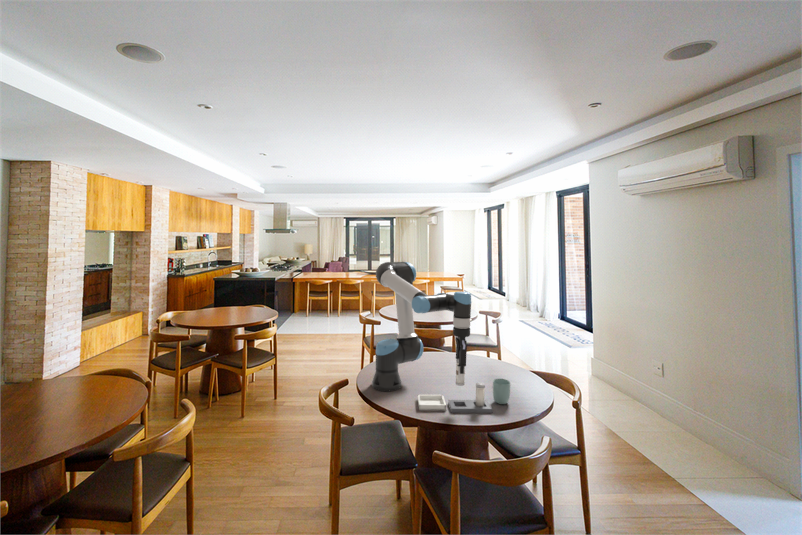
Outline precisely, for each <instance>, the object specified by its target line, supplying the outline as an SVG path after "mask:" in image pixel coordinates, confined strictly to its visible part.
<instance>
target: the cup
mask: <svg viewBox="0 0 802 535" xmlns="http://www.w3.org/2000/svg"><path fill="white" fill-rule="evenodd" d="M510 396H511V381H510V380H508V379H505V378H495V379H493V381H492V398H493V401H494V402H495V403H497V404H499V405H506V404H507V403H509V401H510Z"/></svg>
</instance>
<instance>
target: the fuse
mask: <svg viewBox="0 0 802 535" xmlns="http://www.w3.org/2000/svg"><path fill="white" fill-rule="evenodd" d="M485 388H486V384H485V383H484V382H476V383H475V400H476V405H475V406H476V407H484V400H485V390H486V389H485Z"/></svg>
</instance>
